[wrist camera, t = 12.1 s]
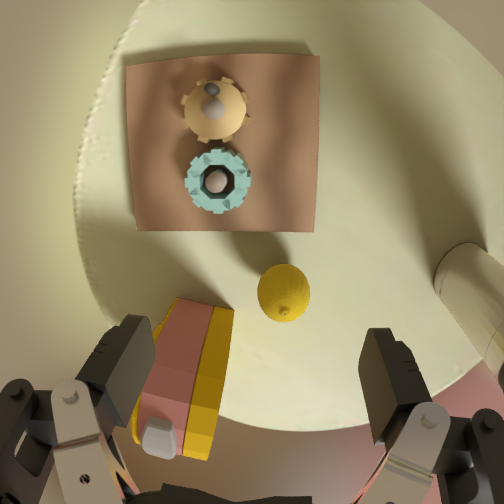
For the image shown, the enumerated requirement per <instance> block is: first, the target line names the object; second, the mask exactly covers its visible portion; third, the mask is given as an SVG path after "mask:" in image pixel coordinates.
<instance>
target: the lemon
mask: <svg viewBox="0 0 504 504" xmlns="http://www.w3.org/2000/svg"><path fill="white" fill-rule="evenodd" d="M257 295H258V300H259V304H260V306H261V308H262V310H263V311H264V313H265V314H266V315H267V316H268V317H269V318H271V319H273V320H275V321H278V322H289V321H293V320H295V319H297V318H298V317H300V316H301V315H302V314H303V313H304V311H305V310H306V308H307V306H308V302H309V298H310V288H309V284H308V281H307V278H306V277H305V275H304V274H303V273H302V271H301V270H299V269H298V268H297V267H295V266H293V265H290V264H277V265H274V266H272V267H270V268H269V269H267V270H266V271H265V272H264V274H263V275H262V277H261V278H260V281H259V284H258V289H257Z"/></svg>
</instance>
